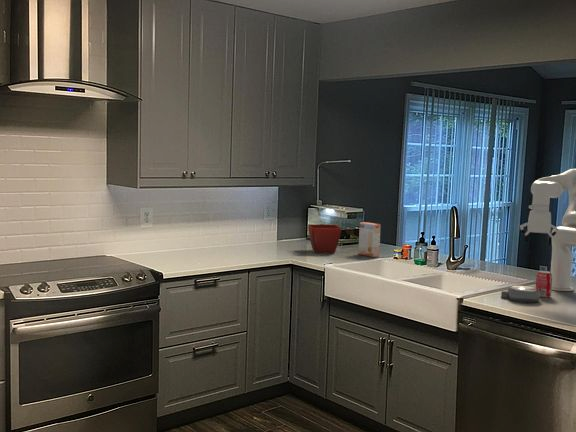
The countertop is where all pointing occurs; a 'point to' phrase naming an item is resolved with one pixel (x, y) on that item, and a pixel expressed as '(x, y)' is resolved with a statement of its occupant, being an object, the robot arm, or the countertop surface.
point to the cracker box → (369, 239)
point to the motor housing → (522, 294)
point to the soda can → (544, 283)
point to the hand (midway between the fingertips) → (537, 244)
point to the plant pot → (324, 238)
